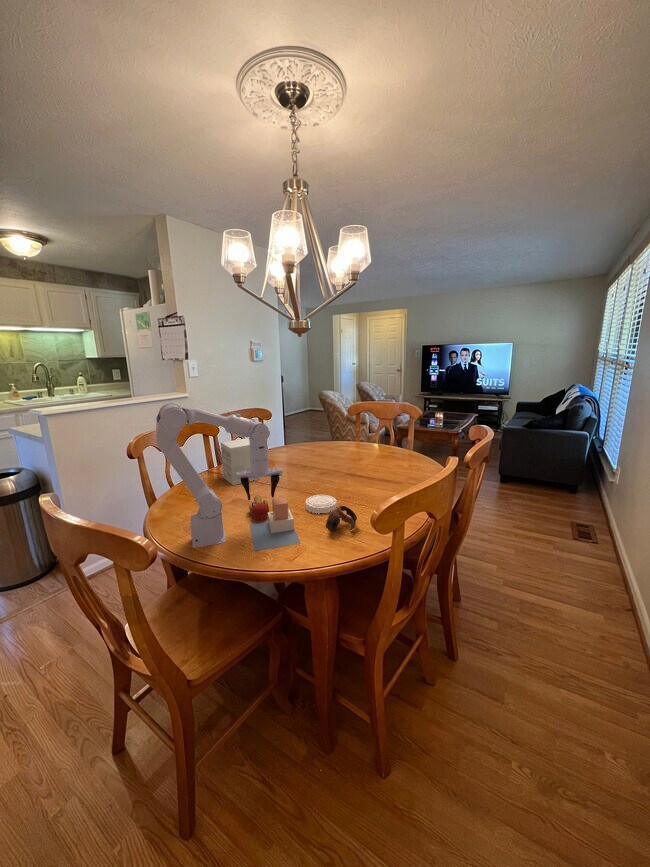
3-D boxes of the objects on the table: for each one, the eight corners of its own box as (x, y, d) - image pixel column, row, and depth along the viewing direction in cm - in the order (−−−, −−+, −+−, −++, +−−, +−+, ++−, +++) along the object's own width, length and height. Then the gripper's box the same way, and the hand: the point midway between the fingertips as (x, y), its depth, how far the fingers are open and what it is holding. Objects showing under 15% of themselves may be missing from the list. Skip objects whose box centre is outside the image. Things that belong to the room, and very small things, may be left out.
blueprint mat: (254, 552, 99) (254, 551, 99) (249, 525, 115) (249, 524, 115) (300, 544, 103) (300, 543, 103) (290, 519, 119) (290, 518, 118)
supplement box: (248, 471, 168) (246, 437, 164) (260, 479, 157) (258, 443, 154) (222, 477, 160) (219, 442, 157) (232, 485, 150) (229, 448, 146)
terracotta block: (274, 522, 110) (273, 504, 108) (272, 515, 114) (272, 499, 113) (288, 520, 111) (287, 503, 110) (286, 514, 115) (285, 497, 114)
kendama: (246, 506, 132) (247, 521, 115) (247, 491, 132) (250, 503, 115) (265, 507, 134) (270, 522, 117) (267, 492, 134) (272, 505, 117)
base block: (271, 533, 109) (270, 522, 108) (268, 522, 116) (267, 512, 115) (294, 529, 111) (293, 519, 110) (289, 519, 118) (289, 509, 117)
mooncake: (300, 505, 130) (299, 497, 129) (327, 499, 135) (327, 491, 135) (313, 518, 120) (313, 509, 119) (342, 511, 125) (342, 502, 124)
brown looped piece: (331, 519, 119) (343, 501, 117) (351, 538, 115) (364, 519, 113) (313, 525, 109) (326, 505, 107) (335, 546, 105) (349, 525, 103)
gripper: (236, 464, 103) (238, 505, 106) (283, 460, 107) (284, 499, 110) (235, 457, 110) (238, 496, 113) (279, 454, 114) (281, 491, 117)
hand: (260, 497), depth 112 cm, fingers open, 7 cm apart
